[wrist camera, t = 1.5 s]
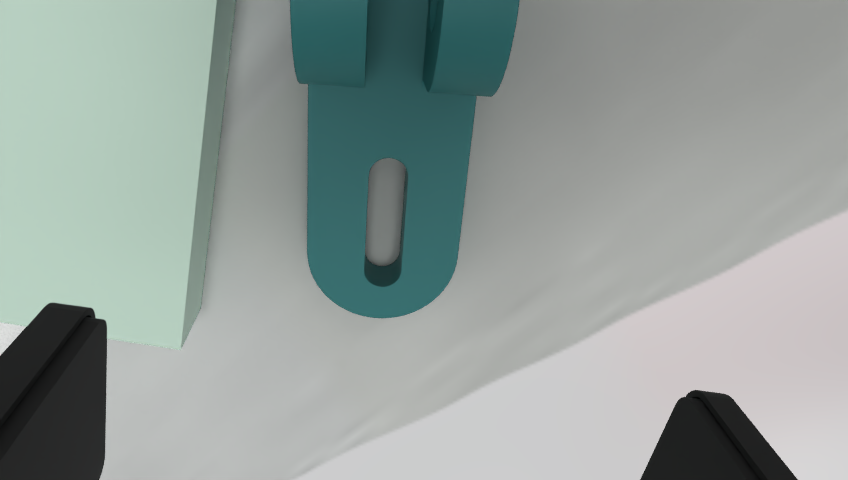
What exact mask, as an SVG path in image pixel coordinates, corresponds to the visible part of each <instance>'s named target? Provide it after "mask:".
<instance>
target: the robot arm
mask: <svg viewBox="0 0 848 480" xmlns="http://www.w3.org/2000/svg"><path fill="white" fill-rule="evenodd" d="M106 364H107V323H106V321H105V320H104V319H97V318H95V312H94V310H93V309H92V308H90V307H82V306H75V305H68V304H60V303H49V304H47V305H46V306H45V307H44V308H43V309H42V310H41V311H40V312H39V314H38V315H37V316H36V317H35V318H34V319H33V320H32V321H31V322H30V324H29V325H28V326H27V327H26V328H25V329H24V330H23V331H22V332H21V334H20V335H19V336H18V337H17V338H16V339H15V340H14V341H13V342H12V344H11V345H10V346H9V347H8V348H7V349H6V350H5V351H4V352H3V354H2V355H1V356H0V480H99V478H100V476H101V473H102V469H103V465H104V460H105V422H106ZM640 480H797V478H796V477H795V476H794V475H793V473H792V472H791V471H790V470H789V468H788V467H787V466H786V465H785V463H784V462H783V461H782V460H781V458H780V457H779V456H778V455H777V453H776V452H775V451H774V450H773V448H772V447H771V446H770V445H769V443H768V442H767V441H766V440H765V439H764V437H763V436H762V435H761V434H760V432H759V431H758V430H757V429H756V427H755V426H754V425H753V424H752V422H751V421H750V420H749V419H748V418H747V416H746V415H745V414H744V412H743V411H742V410H741V409H740V407H739V406H738V405H737V404H736V402H735V401H734V400H733V399H732V398H731V397H730V396H728V395H726V394H721V393H714V392H706V391H699V390H694V391H691V392H690V393H688V394H687V396H686V397H683V398H681V399H679V400H678V402H677V403H676V405H675V407H674V409H673V411H672V413H671V416H670V418H669V420H668V422H667V424H666V426H665V429H664V430H663V433H662V435H661V437H660V439H659V441H658V443H657V445H656V448H655V450H654V452H653V454H652V456H651V458H650V460H649V462H648V465H647V467H646V469H645V471H644V473H643V475H642V478H641V479H640Z"/></svg>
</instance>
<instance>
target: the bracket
mask: <svg viewBox="0 0 848 480" xmlns="http://www.w3.org/2000/svg"><path fill="white" fill-rule="evenodd" d="M518 7H519V0H290V15H291V36H292V49H293V59H294V67H295V72H296V77H297V80H298V82H299V83H301V84H308V204H307V255H308V263H309V267H310V270H311V273H312V275H313V278H314V280H315V281H316V283H317V285H318V286H319V288H320V289H321V290H322V292H323V293H324V294H325V295H326V296H327V297H328V298H329V299H330V300H332V301H333V302H334V303H336V304H337V305H338V306H340V307H342V308H344V309H345V310H348V311H350V312H352V313H355V314H358V315H362V316H366V317H373V318H392V317H399V316H403V315H407V314H409V313H412V312H415V311H417V310H419V309H421V308H423V307H424V306H426V305H428V304H429V303H430V302H432V301H433V300H434V299H435V298H436V297H438V296H439V295H440V293H441V292H442V291H443V290H444V289H445V287H446V286H447V285H448V283H449V281H450V280H451V278H452V275H453V273H454V271H455V267H456V264H457V258H458V250H459V241H460V233H461V224H462V216H463V207H464V199H465V190H466V182H467V173H468V164H469V156H470V147H471V139H472V130H473V122H474V113H475V105H476V96H490V97H491V96H493V95H494V94H495V93H496V92H497V90H498V88H499V86H500V84H501V82H502V79H503V76H504V73H505V70H506V67H507V63H508V59H509V55H510V51H511V47H512V42H513V37H514V32H515V27H516V21H517V14H518ZM384 158H393V159H397V160H399V161H400V162H402V163H403V164H404V166H405V167H406V174H405V187H404V201H403V214H402V228H401V241H400V253H399V256H398V258H397V260H396V261H395V262H394V263H392V264H390V265H388V266H377V265H374V264H372V263H371V262H370V261H369V260H368V259H367V257H366V255H365V241H366V220H367V200H368V179H369V171H370V169H371V167H372V166H373V164H374V163H376V162H377V161H378V160H380V159H384Z"/></svg>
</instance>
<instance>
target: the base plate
mask: <svg viewBox="0 0 848 480" xmlns="http://www.w3.org/2000/svg"><path fill="white" fill-rule="evenodd" d="M235 6H236V0H0V322H2V323H8V324H15V325H21V326H28V325H29V324H30V322H31V321H32V320H33V319H34V318H35V317H36V316H37V315H38V314H39V312H40V311H41V310H42V309H43V308H44V307H45V306H46V305H47V304H49V303H60V304H68V305H75V306H82V307H90V308H92V309H93V310H94V312H95V318H97V319H104V320H105V321H106V323H107V339H112V340H118V341H125V342H131V343H138V344H144V345H151V346H157V347H164V348H170V349H177V350H181V348H182V346H183V344H184V342H185V340H186V338H187V336H188V334H189V332H190V330H191V328H192V325H193V323H194V321H195V319H196V317H197V315H198V313H199V311H200V309H201V302H202V293H203V284H204V276H205V267H206V258H207V249H208V241H209V232H210V223H211V215H212V206H213V197H214V189H215V180H216V171H217V163H218V154H219V145H220V136H221V128H222V119H223V110H224V102H225V93H226V84H227V76H228V67H229V58H230V49H231V41H232V32H233V23H234V15H235Z"/></svg>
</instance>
